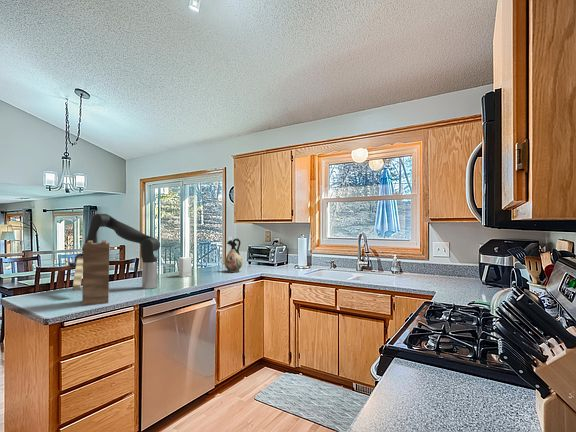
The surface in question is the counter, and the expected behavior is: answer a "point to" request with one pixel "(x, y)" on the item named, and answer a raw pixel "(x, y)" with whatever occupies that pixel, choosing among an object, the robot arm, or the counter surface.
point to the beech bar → (78, 274)
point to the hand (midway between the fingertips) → (79, 265)
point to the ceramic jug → (233, 257)
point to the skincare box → (184, 266)
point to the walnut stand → (95, 273)
